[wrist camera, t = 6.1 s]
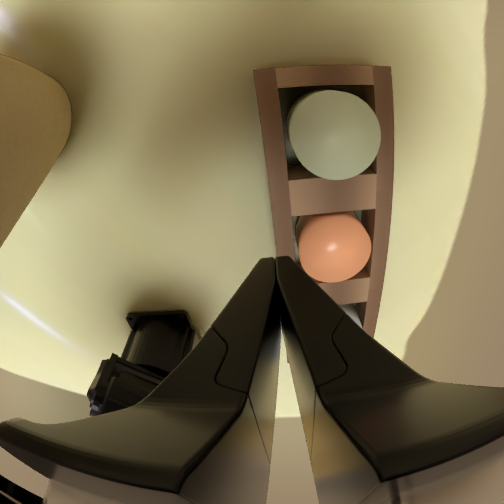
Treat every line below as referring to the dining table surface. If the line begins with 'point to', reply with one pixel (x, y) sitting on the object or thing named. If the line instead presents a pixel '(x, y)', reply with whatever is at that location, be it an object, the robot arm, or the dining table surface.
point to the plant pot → (27, 135)
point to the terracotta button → (332, 245)
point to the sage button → (333, 133)
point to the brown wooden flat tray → (333, 191)
